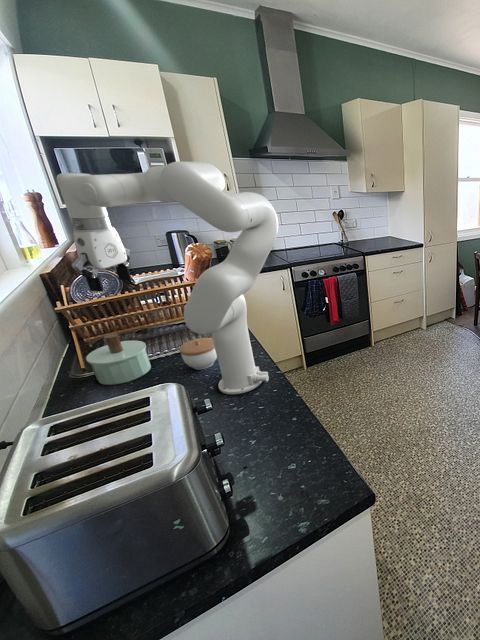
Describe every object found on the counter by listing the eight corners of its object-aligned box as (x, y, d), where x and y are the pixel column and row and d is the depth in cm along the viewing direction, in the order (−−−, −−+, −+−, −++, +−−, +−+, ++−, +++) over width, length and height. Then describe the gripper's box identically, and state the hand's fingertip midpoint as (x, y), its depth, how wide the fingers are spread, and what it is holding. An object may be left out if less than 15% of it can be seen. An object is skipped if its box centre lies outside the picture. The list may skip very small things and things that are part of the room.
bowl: (160, 362, 120) (154, 343, 116) (129, 385, 107) (121, 364, 104) (121, 361, 119) (114, 342, 116) (85, 384, 107) (76, 363, 104)
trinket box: (204, 375, 113) (198, 350, 109) (177, 370, 115) (169, 346, 111) (228, 359, 123) (222, 335, 119) (202, 355, 125) (195, 331, 121)
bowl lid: (157, 344, 117) (151, 326, 114) (122, 367, 104) (115, 347, 101) (114, 342, 117) (107, 325, 114) (73, 365, 104) (64, 346, 101)
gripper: (76, 230, 84) (99, 296, 91) (131, 219, 99) (147, 276, 106) (44, 228, 83) (70, 294, 90) (105, 218, 99) (123, 275, 106)
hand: (112, 285), depth 98 cm, fingers open, 9 cm apart
